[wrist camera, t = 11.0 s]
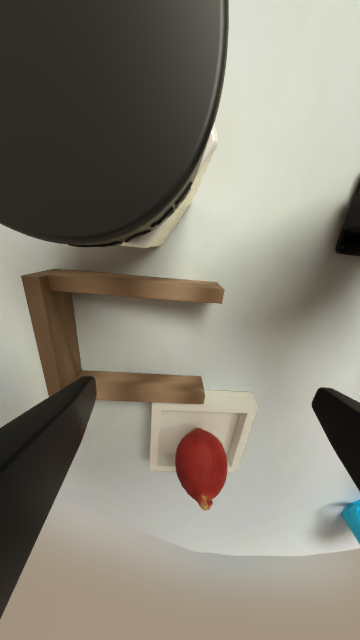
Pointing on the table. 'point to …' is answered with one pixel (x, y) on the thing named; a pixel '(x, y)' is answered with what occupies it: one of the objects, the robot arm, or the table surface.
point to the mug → (353, 518)
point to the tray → (202, 426)
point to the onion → (201, 466)
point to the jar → (107, 115)
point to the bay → (62, 344)
